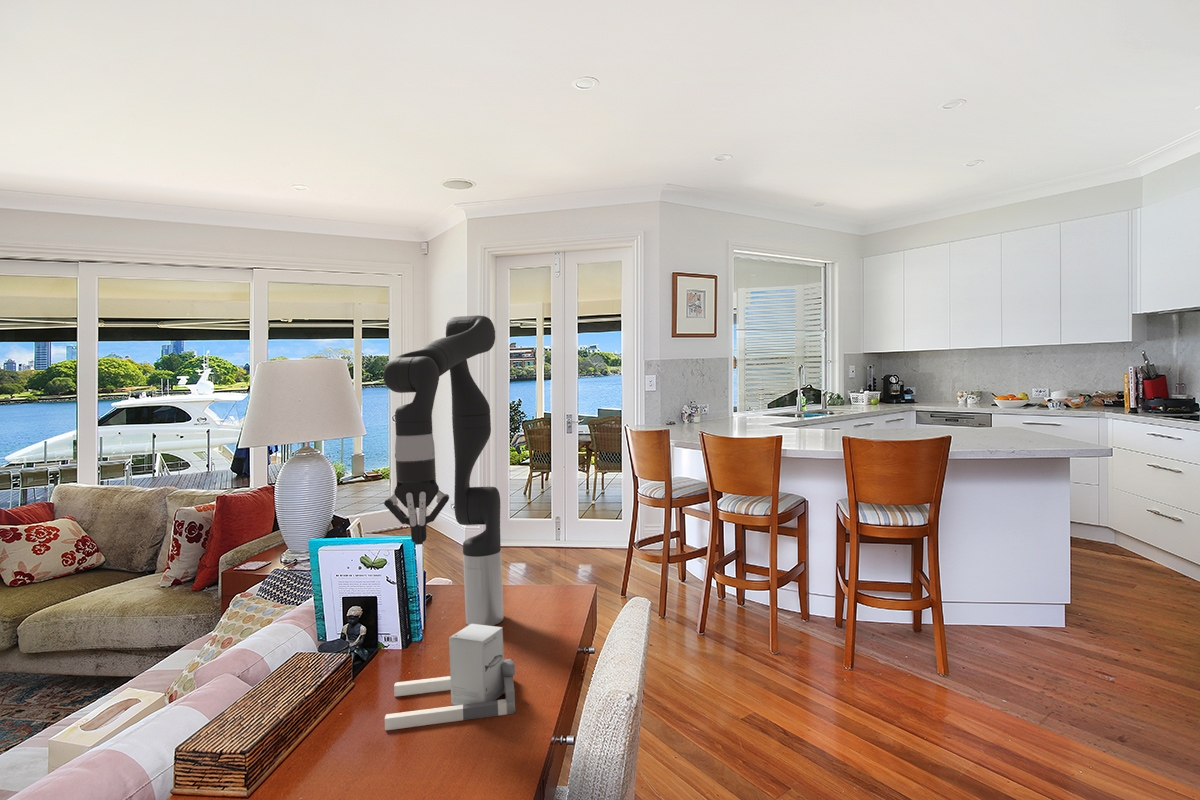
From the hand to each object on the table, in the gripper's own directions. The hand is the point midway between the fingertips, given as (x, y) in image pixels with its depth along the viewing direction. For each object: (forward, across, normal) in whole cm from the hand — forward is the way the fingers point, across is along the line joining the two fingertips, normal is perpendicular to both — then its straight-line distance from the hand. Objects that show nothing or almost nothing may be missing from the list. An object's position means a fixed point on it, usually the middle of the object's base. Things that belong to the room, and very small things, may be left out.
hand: (419, 543), depth 126 cm
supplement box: (+27, -11, +12) cm, 31 cm away
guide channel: (+27, -6, +12) cm, 30 cm away
